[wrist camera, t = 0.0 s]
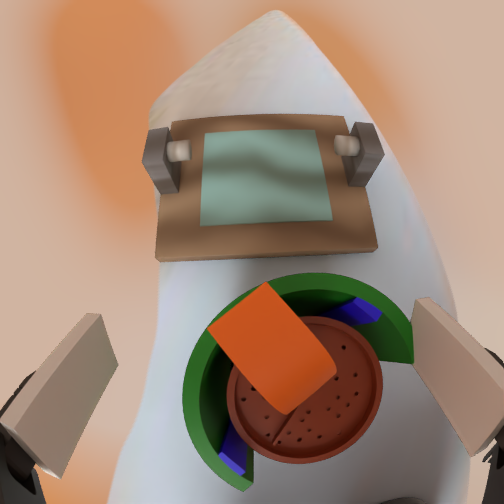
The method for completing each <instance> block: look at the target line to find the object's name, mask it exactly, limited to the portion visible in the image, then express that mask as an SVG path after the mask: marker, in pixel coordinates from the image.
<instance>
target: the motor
mask: <svg viewBox="0 0 504 504" xmlns="http://www.w3.org/2000/svg"><path fill="white" fill-rule="evenodd" d="M231 360H232V362H233V363H234V366H233V368H232V371H231ZM379 361H387V362H397V363H407V364H413V363H414V344H413V330H412V325H411V323H410V322H409V320H408V319H407V317H406V316H405V315H404V313H403V312H402V311H401V310H400V309H399V308H398V307H397V305H396V304H394V303H393V302H392V301H391V300H390V299H389V298H388V297H386V296H385V295H384V294H382V293H381V292H380V291H378V290H376V289H375V288H373V287H371V286H369V285H367V284H365V283H363V282H361V281H358V280H356V279H353V278H350V277H346V276H342V275H336V274H329V273H302V274H294V275H289V276H285V277H280V278H277V279H274V280H271V281H268V282H264V283H263V284H261V285H259V286H257V287H255V288H253V289H251V290H249V291H247V292H246V293H244V294H242V295H241V296H239V297H238V298H237V299H235V300H234V301H232V302H231V303H230V304H229V305H228V306H226V307H225V308H224V309H223V310H222V311H221V312H220V313H219V314H218V315H217V316H216V317H215V318H214V319H213V320H212V321H211V323H210V324H209V325H208V327H207V328H206V329H205V331H204V332H203V334H202V335H201V337H200V338H199V340H198V342H197V343H196V345H195V347H194V350H193V352H192V354H191V356H190V359H189V362H188V365H187V368H186V372H185V377H184V383H183V393H182V403H183V413H184V419H185V423H186V427H187V430H188V433H189V436H190V438H191V440H192V443H193V444H194V446H195V448H196V450H197V452H198V453H199V455H200V456H201V458H202V459H203V460H204V462H205V463H206V464H207V465H208V466H209V467H210V469H211V470H213V471H214V472H215V473H216V474H217V475H218V476H219V477H220V478H221V479H223V480H224V481H226V482H227V483H228V484H230V485H231V486H233V487H235V488H236V489H238V490H240V491H242V492H244V491H245V490H246V489H247V488H249V487H250V486H251V485H252V484H253V478H254V450H255V451H256V452H258V453H260V454H261V455H263V456H265V457H268V458H270V459H273V460H276V461H279V462H284V463H291V464H306V463H313V462H318V461H322V460H325V459H328V458H331V457H333V456H335V455H337V454H339V453H341V452H343V451H344V450H346V449H347V448H349V447H350V446H351V445H353V444H354V443H355V442H356V441H357V440H358V439H359V438H360V437H361V436H362V435H363V434H364V433H365V432H366V430H367V429H368V428H369V426H370V425H371V423H372V421H373V420H374V418H375V416H376V413H377V411H378V408H379V405H380V402H381V397H382V390H383V378H382V371H381V366H380V363H379Z"/></svg>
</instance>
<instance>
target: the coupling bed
mask: <svg viewBox="0 0 504 504" xmlns="http://www.w3.org/2000/svg"><path fill="white" fill-rule="evenodd" d="M384 155H385V154H384V151H383V149H382V146H381V143H380V140H379V138H378V135H377V133H376V130H375V128H374V125H373V124H372V123H362V122H355V123H354V126H353V128H352V131H351V133H350V134H349V131H348V128H347V125H346V122H345V119H344V116H332V115H312V114H255V115H234V116H220V117H209V118H199V119H190V120H182V121H174V122H172V125H171V130H170V131H169V128H168V127H165V128H159V129H153V130H149V131H148V136H147V140H146V145H145V149H144V154H143V159H142V163H143V165H144V167H145V169H146V170H147V172H148V174H149V176H150V177H151V179H152V181H153V182H154V184H155V186H156V188H157V189H158V191H159V193H160V194H161V197H160V206H159V215H158V226H157V238H156V251H155V258H156V259H157V260H158V261H159V262H174V261H198V260H222V259H244V258H266V257H287V256H308V255H328V254H348V253H367V252H374V251H375V250H376V249H377V248H378V244H377V239H376V234H375V229H374V224H373V219H372V215H371V210H370V206H369V201H368V197H367V193H366V189H365V186H366V184H367V183H368V181H369V180H370V178H371V176H372V175H373V173H374V171H375V170H376V168H377V166H378V165H379V163H380V161H381V160H382V158H383V156H384Z"/></svg>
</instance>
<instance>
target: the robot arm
mask: <svg viewBox="0 0 504 504" xmlns="http://www.w3.org/2000/svg"><path fill="white" fill-rule="evenodd" d="M410 323H411V325H412V330H413V344H414V363H413V364H412V365H413V367H414V368H415V370H416V371H417V373H418V374H419V376H420V377H421V378H422V380H423V381H424V383H425V384H426V386H427V387H428V389H429V390H430V392H431V393H432V395H433V396H434V398H435V399H436V401H437V403H438V404H439V406H440V407H441V409H442V410H443V412H444V413H445V415H446V417H447V418H448V420H449V421H450V423H451V425H452V426H453V428H454V430H455V431H456V433H457V435H458V436H459V438H460V440H461V441H462V443H463V445H464V446H465V448H466V450H467V452H468V453H469V455H470V457H473V456H474V455H476V454H478V453H479V452H481V451H482V450H484V449H485V448H487V446H488V445H489V444H490V443H491V441H492V440H493V439H494V438H495V440H496V441H497V443H496V444H495V445H494V446H493V448H492V449H491V450H490V451H489V452H488V453H487V454H486V456H485V457H484V459H483V461H482V462H485V461H486V460H487V459H488V458H489V457H490V456H491V455H492V457H491V458H490V460H489V461H488V463H491V465H490V470H489V475H488V480H487V485H486V489H485V493H484V497H483V501H482V504H504V363H503V361H502V360H501V359H500V358H499V357H498V356H497V355H496V354H495V353H493V352H492V351H490V350H488V349H486V348H483V347H482V346H481V345H480V344H479V343H478V342H477V341H476V340H475V339H474V338H473V337H472V336H471V335H470V334H469V333H468V332H467V331H466V330H465V329H464V328H463V327H462V326H461V325H459V323H457V322H456V321H455V320H454V319H453V318H452V317H451V316H450V315H449V314H448V313H446V312H445V311H444V310H443V309H442V308H441V307H440V306H439V305H438V304H436V303H435V302H434V301H433V300H432V299H431V298H430V297H427V298H420V299H416V300H415V305H414V309H413V313H412V318H411V322H410ZM117 367H118V363H117V360H116V357H115V355H114V352H113V349H112V346H111V344H110V340H109V338H108V335H107V332H106V328H105V326H104V322H103V319H102V316H101V314H93V313H87V314H86V315H85V316H84V317H83V318H82V319H81V320H80V321H79V322H78V323H77V324H76V326H75V327H74V328H73V329H72V330H71V331H70V332H69V333H68V334H67V336H66V337H65V338H64V339H63V340H62V341H61V343H59V345H58V346H57V347H56V348H55V349H54V350H53V352H52V353H51V354H50V355H49V356H48V358H47V359H46V360H45V361H44V362H43V364H42V365H41V366H40V367H39V368H38V370H37V371H35V372H33V373H32V374H30V375H29V376H27V377H26V378H25V379H24V380H23V382H22V383H21V384H20V385H19V388H17V389H16V391H15V392H14V395H12V396H11V397H10V398H9V400H8V401H7V402H6V404H5V405H4V406H3V408H2V409H1V410H0V504H46V501H45V498H44V495H43V492H42V489H41V485H40V481H39V477H38V474H37V472H36V470H35V469H34V468H33V467H34V465H35V463H36V464H37V465H38V466H39V467H40V468H41V469H42V470H43V471H44V472H46V473H48V474H50V475H52V476H54V477H56V478H59V479H61V478H62V476H63V473H64V471H65V469H66V467H67V465H68V462H69V460H70V458H71V456H72V454H73V452H74V449H75V447H76V445H77V443H78V441H79V439H80V437H81V435H82V433H83V431H84V429H85V427H86V425H87V423H88V421H89V419H90V417H91V415H92V413H93V411H94V409H95V407H96V405H97V403H98V401H99V400H100V398H101V396H102V394H103V392H104V390H105V388H106V387H107V385H108V383H109V381H110V379H111V377H112V376H113V374H114V372H115V370H116V368H117ZM381 504H426V503H425V502H424V501H422V500H420V499H417V498H400V499H395V500H391V501H387V502H384V503H381Z"/></svg>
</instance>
